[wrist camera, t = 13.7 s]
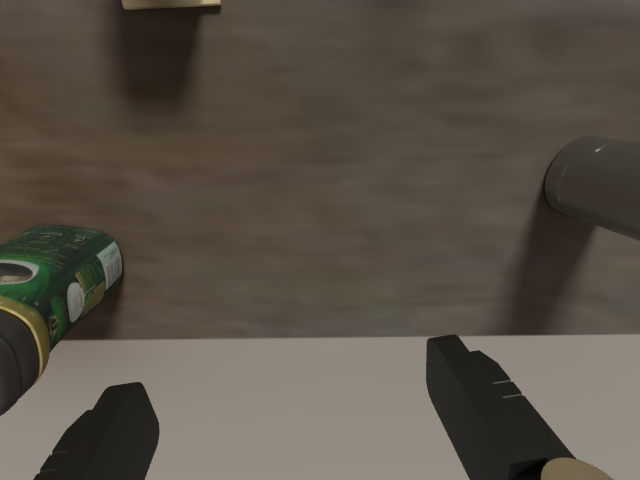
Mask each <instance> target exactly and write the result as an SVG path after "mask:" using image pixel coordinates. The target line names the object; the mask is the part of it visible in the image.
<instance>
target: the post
mask: <svg viewBox="0 0 640 480" xmlns="http://www.w3.org/2000/svg"><path fill="white" fill-rule="evenodd" d="M121 1H122V5H123V8H124V9H126V10H134V9H156V8H177V7H198V6H220V5H221V0H121Z"/></svg>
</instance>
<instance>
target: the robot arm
mask: <svg viewBox="0 0 640 480" xmlns="http://www.w3.org/2000/svg"><path fill="white" fill-rule="evenodd" d="M545 196H546V199H547V201H548V203H549V204H550V206H551V207H552V208H553V209H555V210H556V211H558V212H561V213H564V214H566V215H569V216H572V217H575V218H577V219H580V220H583V221H585V222H588V223H591V224H594V225H596V226H599V227H602V228H605V229H608V230H610V231H613V232H616V233H619V234H622V235H624V236H627V237H630V238H633V239H636V240H638V241H640V141H631V140H622V139H610V138H599V137H588V138H583V139H580V140H577V141H575V142H573V143H571V144H570V145H568V146H567V147H566V148H565V149H563V150H562V151H561V152H560V153H559V155H558V156H557V157H556V158H555V160H554V161H553V163H552V164H551V166H550V168H549V170H548V172H547V176H546V180H545ZM426 362H427V363H426V382H427V388H428V392H429V396H430V398H431V401H432V403H433V405H434V407H435V409H436V411H437V414H438V416H439V417H440V420H441V422H442V424H443V426H444V428H445V430H446V432H447V434H448V436H449V438H450V440H451V442H452V444H453V446H454V448H455V450H456V452H457V454H458V456H459V458H460V460H461V462H462V464H463V467H464V469H465V471H466V473H467V475H468V477H469V479H470V480H614V479H613V478H611V477H610V476H609V475H608V474H606V473H605V472H603V471H602V470H600V469H598V468H597V467H595V466H593V465H591V464H589V463H586V462H584V461H581V460H578V459H576V458H575V457H574V456H573V455H572V454H571V452H570V451H569V450H568V449H567V448H566V446H565V445H564V444H563V443H562V442H561V440H560V439H559V438H558V437H557V436H556V434H555V433H554V432H553V431H552V429H551V428H550V427H549V426H548V425H547V423H546V422H545V421H544V419H543V418H542V417H541V416H540V415H539V413H538V412H537V411H536V410H535V409H534V407H533V406H532V405H531V404H530V402H529V401H528V400H527V399H526V397H525V396H522V394H521V391H520V390H519V389H518V388H517V386H516V385H515V384H514V383H513V382H511V380H510V378H509V377H508V375H507V374H506V373H505V372H504V370H503V369H502V368H501V367H500V365H499V364H498V363H497V362H495V361H494V360H493V359H491V358H490V357H488V356H487V355H485V354H484V353H482V352H481V351H479V350H478V351H472V352H469V350H468V349H467V348H466V346H465V345H464V344H463V342H462V341H461V340H460V338H459V337H458V336H457V335H447V336H441V337H434V338H429V339H428V340H427V361H426ZM158 440H159V423H158V419H157V417H156V414H155V412H154V410H153V407H152V405H151V402H150V400H149V397H148V395H147V393H146V390H145V388H144V386H143V384H142V383H140V382H135V383H128V384H121V385H115V386H110V387H108V388H107V389H106V390H105V391H104V392H103V394H102V395H101V397H100V398H99V400H98V402H97V403H96V405H95V406H94V408H93V410H87V411H86V412H85V413H84V414H82V416H80V418H78V419H77V420H76V421H75V422H74V423H73V424H72V425H71V426H70V427H69V428H68V429H67V430H66V431H65V433H64V434H63V436H62V437H61V439H60V440H59V442H58V443H57V445H56V446H55V448H54V449H53V451H52V452H53V453H52V455H49V457H48V458H47V460H46V461H45V463H44V464H43V466H42V467H41V469H40V473H39V474H37V475H36V476H35V478H34V480H145V477H146V474H147V472H148V469H149V466H150V463H151V461H152V458H153V455H154V453H155V450H156V447H157V444H158Z"/></svg>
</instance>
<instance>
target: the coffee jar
mask: <svg viewBox="0 0 640 480" xmlns="http://www.w3.org/2000/svg"><path fill="white" fill-rule="evenodd" d="M121 275H122V257H121V253H120V249H119V247H118V245H117V243H116V242H115V241H114V239H112V238H111V237H110V236H109V235H107V234H105V233H103V232H100V231H97V230H92V229H86V228H81V227H72V226H60V225H43V226H34V227H31V228H29V229H27V230H25V231H23V232H21V233H20V234H18V235H16V236H15V237H13V238H11V239H10V240H8V241H7V242H5V243H4V244H2V245H1V246H0V416H1V415H3V414H4V413H5V412H6V411H8V410H9V409H10V408H11V407H12V406H13V405H14V404H15V403H16V402H17V400H18V399H19V398H20V397H21V396H22V395H23V394H24V393H25V392H26V391H27V390H28V389H29V388H31V387H32V385H34V384H35V383H36V382H37V381H38V379H39V378H40V376H41V375H42V373H43V372H44V370H45V367H46V365H47V362H48V359H49V354H50V352H51V350H52V349H53V348H54V347H55V346H56V344H57V343H58V342H59V341H60V340H61V339H62V338H63V337H64V336H65V335H66V334H67V333H68V332H69V331H70V330H71V329H72V328H73V327H74V326H75V325H77V324H78V323H79V322H80V321H81V320H82V319H83V318H84V317H85V316H86V315H87V314H88V313H90V312H91V311H92V310H93V309H94V308H95V307H96V306H98V305H99V304H100V303H101V302H102V301H103V300H104V299H105V298H107V296H108V295H109V294H110V293H111V292H112V291H113V290H114V289H115V288H116V287H117V286H118V284H119V283H120V280H121Z"/></svg>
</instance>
